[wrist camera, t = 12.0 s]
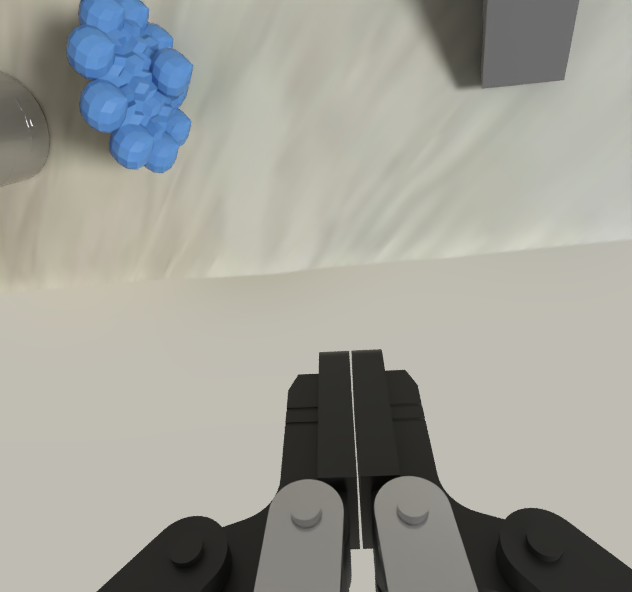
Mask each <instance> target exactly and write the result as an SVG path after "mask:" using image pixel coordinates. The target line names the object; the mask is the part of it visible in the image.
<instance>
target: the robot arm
mask: <svg viewBox="0 0 632 592" xmlns="http://www.w3.org/2000/svg"><path fill="white" fill-rule="evenodd" d="M48 152H49V132H48V127H47V123H46V120H45V117H44V115H43V112H42V110H41V108H40V107H39V105H38V103H37V101H36V100H35V98H34V97H33V96H32V95H31V93H30V92H29V91H28V90H27V89H26V88H25V87H24V86H23V85H22V84H21V83H20V82H19V81H17V80H16V79H14V78H13V77H11V76H9V75H8V74H5V73H3V72H0V187H1V186H5V185H8V184H12V183H16V182H19V181H23V180H26V179H29V178H32V177H33V176H34V175H36V174H37V173H39V171H40V170H41V169H42V167H43V166H44V164H45V162H46V159H47V157H48ZM349 360H350V359H349V351H338V352H320V353H319V374H303V375H298V377H297V378H296V379H295V381H294V383H293V384H292V386H291V387H290V389H289V390H288V401H287V412H286V426H285V434H284V446H283V458H282V468H281V480H280V486H279V488H278V491H277V493H276V495H275V497H274V498H273V500H272V501H271V503H270V504H269V505H268V506H267V507H266V508H265V509H263V510H262V511H261V512H259V513H258V514H256V515H254V516H252V517H250V518H247V519H245V520H242V521H239V522H236V523H234V524H231V525H228V526H225V527H221V526H220V525H219V524H218V523H217V522H216V521H214V520H213V519H210V518H208V517H203V516H192V517H187V518H183V519H181V520H178V521H176V522H174V523H173V524H171V525H169V526H168V527H167V528H166V529H164V530H163V531H162V532H161V533H160V534H159V535H158V536H157V537H156V538H154V539H153V540H152V541H151V542H150V543H149V544H148V545H147V546H146V547H145V548H144V549H143V550H141V551H140V552H139V553H138V554H137V555H136V556H135V557H134V558H133V559H132V560H131V561H130V562H128V563H127V564H126V565H125V566H124V567H123V568H122V569H121V570H120V571H119V572H118V573H117V574H115V575H114V576H113V577H112V578H111V579H110V580H109V581H108V582H107V583H106V584H105V585H104V586H102V587H101V588H100V589H99V590H98V591H97V592H349V588H350V584H351V552H350V549H360V544H359V543H360V541H359V519H358V494H357V473H356V457H355V440H354V424H353V409H352V392H351V376H350V361H349ZM352 374H353V397H354V415H355V432H356V448H357V462H358V478H359V493H360V507H361V508H360V509H361V524H362V540H363V549H367V548H368V549H369V548H370V549H372V548H373V553H374V564H375V588H376V592H632V569H631V568H629V567H628V566H627V565H625V564H624V563H623V562H621V561H620V560H619V559H617V558H616V557H615V556H613V555H612V554H611V553H609V552H608V551H607V550H605V549H604V548H603V547H601V546H600V545H599V544H597V543H596V542H595V541H593V540H592V539H591V538H589V537H588V536H586V535H585V534H584V533H582V532H581V531H580V530H579V529H577V528H576V527H575V526H573V525H572V524H570V523H569V522H568V521H566V520H565V519H563V518H562V517H560V516H558V515H556V514H554V513H552V512H549V511H547V510H543V509H538V508H524V509H520V510H517V511H515V512H513V513H511V514H510V515H509V516H508V517H507V518H506V519H501V518H497V517H493V516H490V515H486V514H482V513H479V512H475V511H473V510H470V509H468V508H466V507H464V506H462V505H461V504H459V503H457V502H456V501H455V500H454V499H452V498H451V497H450V496H449V495H448V494H447V493H446V491H445V490H444V489H443V487H442V485H441V483H440V481H439V478H438V475H437V471H436V466H435V462H434V457H433V453H432V448H431V444H430V439H429V435H428V430H427V426H426V421H425V419H424V418H425V417H424V412H423V408H422V405H421V399H420V394H419V390H418V385H417V384H416V383H415V381H414V380H413V379H412V378H411V376H410V375H409V374H408V373H407V372H406V371H405V370H393V371H392V370H391V371H385V369H384V362H383V355H382V350H381V349H379V350H356V351H352Z"/></svg>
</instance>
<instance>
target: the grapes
mask: <svg viewBox="0 0 632 592" xmlns="http://www.w3.org/2000/svg"><path fill="white" fill-rule="evenodd" d="M78 16H79V24H80V26H78V27H75V28H74V29H73V31H72V32H71V34H70V35H69V37H68V40H67V47H66V53H67V59H68V62H69V64H70V65H71V66H72V68H73V69H74V70H75V71H76V72H77V73H78V74H80V75H81V76H83V77H84V78H86V79H90V80H93V81H91V82H89V83H87V85H86V86H85V88H84V89H83V91H82V92H81V97H80V103H79V106H80V113H81V115H82V117H83V119H84V120H85V121H86V122H87V123H88V125H89V126H91V127H92V128H94V129H96V130H97V131H99V132H104V133H111V137H110V142H109V149H110V153H111V155H112V156H113V157H114V159H115V160H116V161H117V162H118V163H119V164H121V165H122V166H124V167H125V168H127V169H139V168H141V167H142V166H145V167H146V168H147V169H149V170H151V171H152V172H155V173H164V172H165V171H167V170H169V169H170V168H171V167H172V165H173V164H174V162H175V160H176V157H177V153H178V148H179V147H180V146H181V145H183V144H184V142H185V141H186V139H187V137H188V135H189V131H190V127H191V120H190V119H189V118H188V117H187V116H186V115H185V114H184V112H183V111H181V110H180V109H178V107H179V106H181V104H182V102H183V101H184V99H185V98H186V95H187V91H188V86H189V83H190V79H191V75H192V69H193V65H192V64H191V63H190V62H189V61H188V60H187V58H185V57H184V56H183V55H182V54H181V53H179V52H178V51H177V50H175V49H172V47H173V38H172V37H171V36H170V35H169V34H168V33H167V32H166V31H165V30H164V29H163V28H161V27H160V26H159V25H157V24H154V23H150V22H148V16H149V9H148V8H147V7H146V5H145V4H144V3H143V2H142V1H140V0H81V1H80V5H79V12H78Z"/></svg>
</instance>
